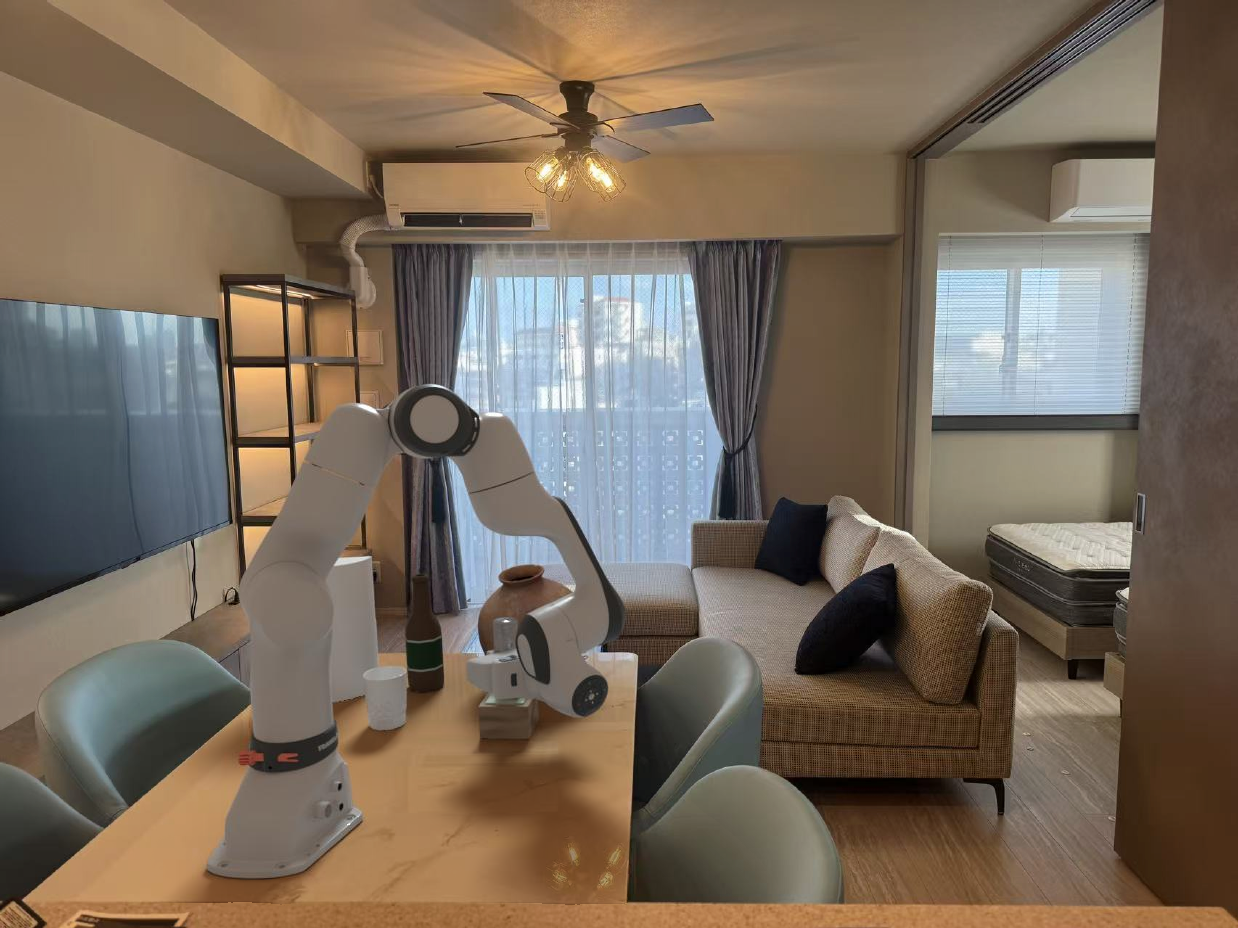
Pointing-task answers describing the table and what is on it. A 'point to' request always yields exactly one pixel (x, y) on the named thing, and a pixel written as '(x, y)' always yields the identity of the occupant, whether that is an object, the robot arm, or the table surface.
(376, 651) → the cylinder
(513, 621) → the grey cylindrical bottle
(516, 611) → the pottery
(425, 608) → the beer bottle
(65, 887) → the table surface
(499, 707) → the stand block
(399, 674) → the white cup
